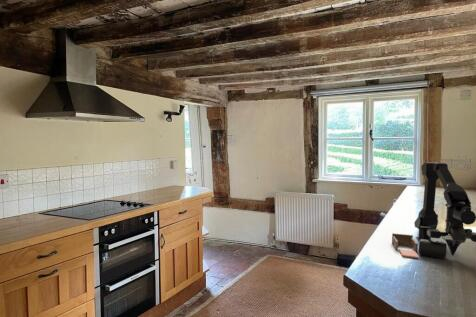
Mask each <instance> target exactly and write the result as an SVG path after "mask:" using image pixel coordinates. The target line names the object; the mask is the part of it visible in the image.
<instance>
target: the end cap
mask: <svg viewBox="0 0 476 317" xmlns="http://www.w3.org/2000/svg"><path fill="white" fill-rule="evenodd" d="M418 243H419V244H418V254H419V256H424V257H430V258H437V259H443V260H444V259H446V258H447V247H448V245H447V243H446V242H443V241H438V240H436V241H434V240H432V241H429V240H425V239H421V240H419V241H418Z"/></svg>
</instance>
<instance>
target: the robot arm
mask: <svg viewBox="0 0 476 317" xmlns="http://www.w3.org/2000/svg"><path fill="white" fill-rule="evenodd" d="M421 174H422V176H423V178H424V188H423V189H424V191H423V192H424V193H423V202H422V203H423V204H422V208H421V210H420V211H419V212H418V216H417V218H416V219H415V221H414V222H413V223H414V228H416V229H418V233H417V236H415V239H416V240H418V242H419V240H421V239H425V240H429V241H433V239H440V238H441V239H443V241H445V243H446V245H447V247H448V249H449V253H450V255H451V256H454V255H455V254H456V251H457V250H458V248H459V247H460V246H461V244H464V243H466V241H467V239H468V240H470V241H472V242H473V243H476V232H474V231H473V229H471V228H464V227H465V226H464V225H467V226H468V225H472V224H474V223H476V213H475V212H474V211H473V210H472V205H471V204H472V202H471V200H470V199H469V196H468V193H467V192H466V190H465V189H464V188H463V187H462V186H461V185H459V184H458V183H457V182H456V180H455V179H454V177H453V175H452V173H451V172H450V170H449V166H448V164H447V163H445V162H432V161H431V162H430V161H429V162H427V161H425V162H424V163H422V165H421ZM438 180H440V183H441V184H442V187H443V189H444V191H443V198H444V200H445V202H446V203H445V207H446V216H445V217H446V218H445V219H444V220H445V228H444V231H440V230H439V229H438V228H437V227H438V224H439V215H438V214H437V212H436V211H435V205H436V202H435V201H436V191H437V190H436V189H437V181H438Z"/></svg>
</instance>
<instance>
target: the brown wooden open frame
mask: <svg viewBox="0 0 476 317" xmlns="http://www.w3.org/2000/svg"><path fill="white" fill-rule="evenodd" d="M391 235H392V236H391V245H392V247H393V248H394V249H395V251H398V249H399V246H409V247H411V249H412V251H416V253H417V254H418V251H419V244H418V243H419V242H417V241H416V240H415V239H414V236H413V234H406V233H405V234H401V233H393V232H392V234H391ZM398 252H399V251H398Z"/></svg>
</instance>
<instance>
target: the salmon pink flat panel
mask: <svg viewBox="0 0 476 317" xmlns="http://www.w3.org/2000/svg"><path fill="white" fill-rule="evenodd" d="M398 252H399V253H400V254H401V256H402V257H405V258H412V259H413V258H414V259H420V255H418V254H419V253H418V252H417V253H416V251H414V250H409V249H402V248H401V249H399V248H398Z"/></svg>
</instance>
